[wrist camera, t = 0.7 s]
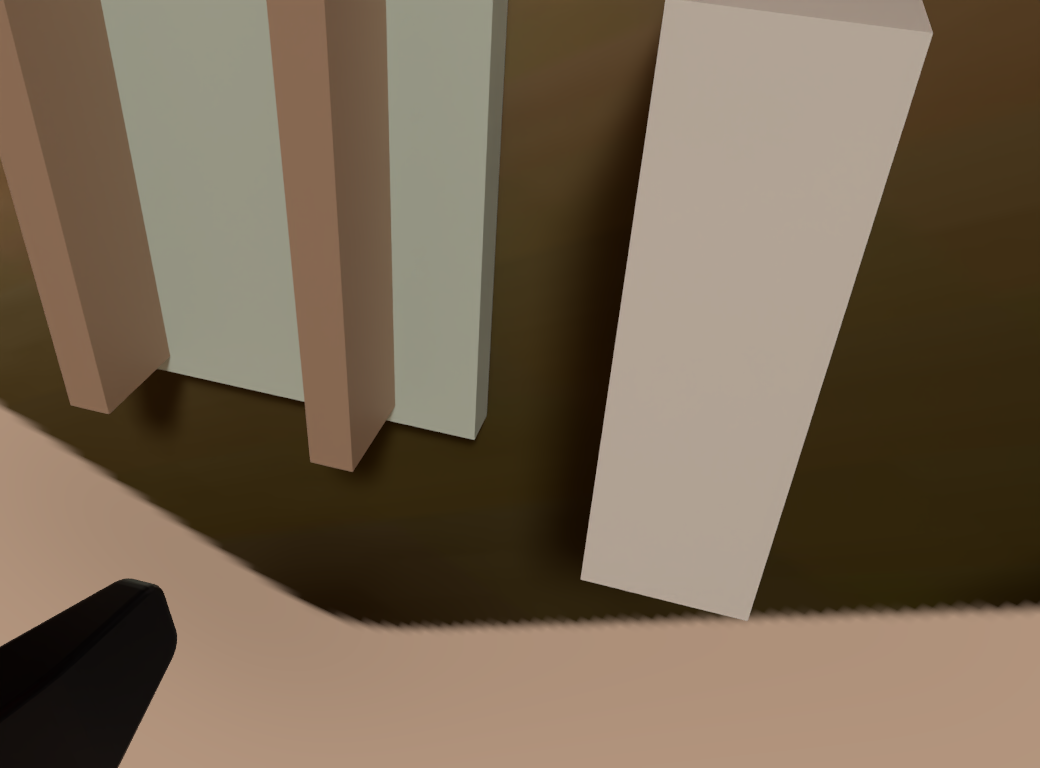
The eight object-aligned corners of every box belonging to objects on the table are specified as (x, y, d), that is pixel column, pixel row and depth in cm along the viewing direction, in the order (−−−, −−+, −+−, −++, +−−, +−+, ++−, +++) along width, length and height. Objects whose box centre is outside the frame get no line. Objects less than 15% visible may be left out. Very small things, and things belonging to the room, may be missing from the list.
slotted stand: (518, -207, 15) (449, -194, 12) (486, 415, 23) (439, 509, 20) (-54, -262, 17) (-223, -259, 14) (94, 329, 25) (2, 404, 22)
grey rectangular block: (900, -63, 15) (932, 32, 10) (766, 419, 21) (748, 621, 16) (716, -83, 16) (666, -3, 11) (635, 392, 21) (580, 579, 17)
